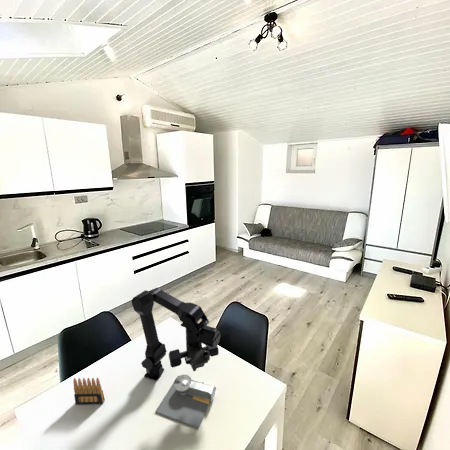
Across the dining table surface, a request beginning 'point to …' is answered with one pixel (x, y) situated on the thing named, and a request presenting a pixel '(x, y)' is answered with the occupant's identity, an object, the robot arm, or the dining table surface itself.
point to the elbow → (194, 388)
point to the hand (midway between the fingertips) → (194, 370)
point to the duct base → (183, 407)
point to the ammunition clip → (88, 392)
